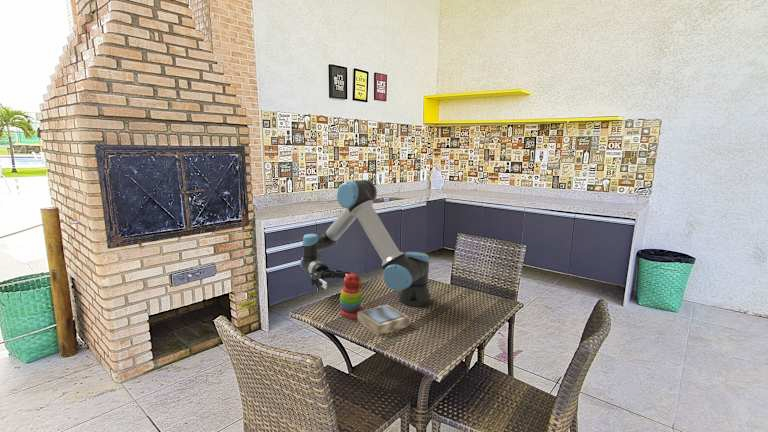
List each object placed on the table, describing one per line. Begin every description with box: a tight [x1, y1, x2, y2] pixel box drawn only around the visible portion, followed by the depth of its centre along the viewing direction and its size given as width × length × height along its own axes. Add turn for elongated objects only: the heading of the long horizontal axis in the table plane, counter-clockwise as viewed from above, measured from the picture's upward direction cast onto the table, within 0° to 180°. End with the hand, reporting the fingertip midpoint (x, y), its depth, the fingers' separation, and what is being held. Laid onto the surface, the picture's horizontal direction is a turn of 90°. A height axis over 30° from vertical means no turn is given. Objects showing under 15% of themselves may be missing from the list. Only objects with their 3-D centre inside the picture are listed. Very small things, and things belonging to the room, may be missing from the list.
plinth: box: [356, 304, 410, 337], centre depth 155 cm, size 15×15×4 cm
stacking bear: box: [339, 271, 366, 321], centre depth 162 cm, size 11×10×18 cm
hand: (340, 283), depth 170 cm, fingers open, 13 cm apart
